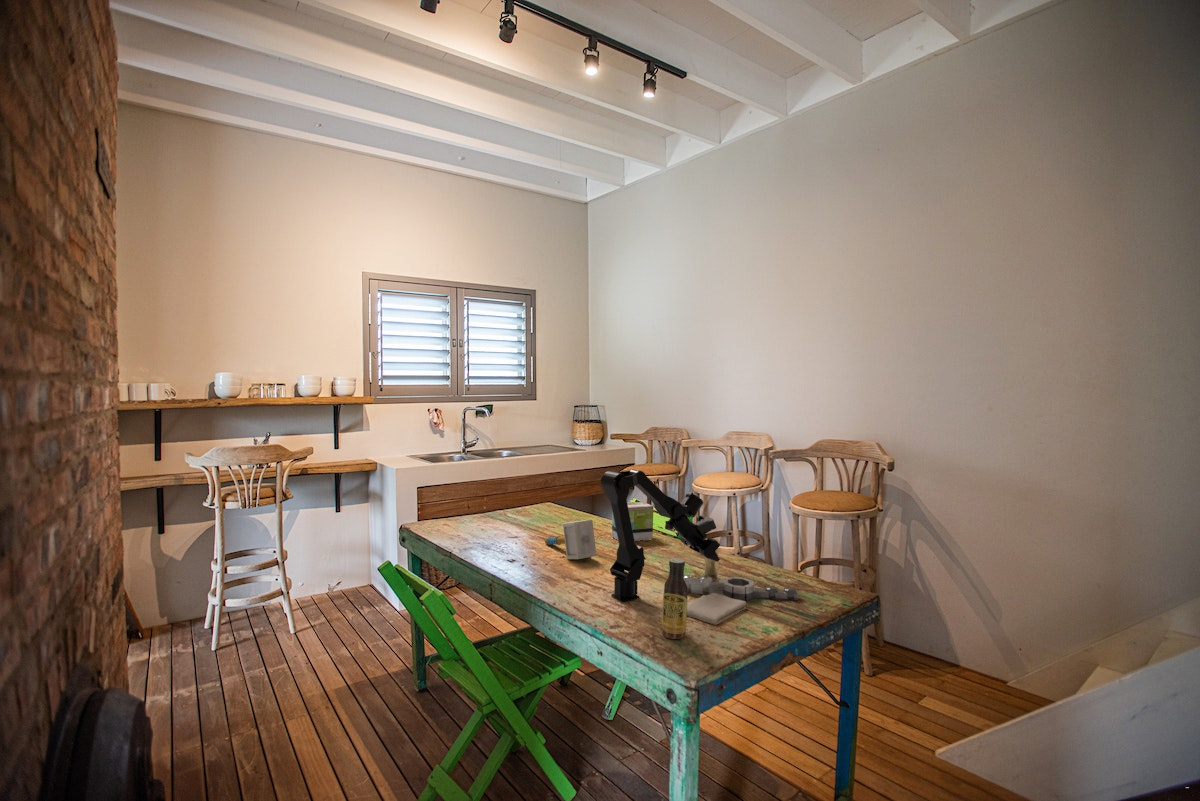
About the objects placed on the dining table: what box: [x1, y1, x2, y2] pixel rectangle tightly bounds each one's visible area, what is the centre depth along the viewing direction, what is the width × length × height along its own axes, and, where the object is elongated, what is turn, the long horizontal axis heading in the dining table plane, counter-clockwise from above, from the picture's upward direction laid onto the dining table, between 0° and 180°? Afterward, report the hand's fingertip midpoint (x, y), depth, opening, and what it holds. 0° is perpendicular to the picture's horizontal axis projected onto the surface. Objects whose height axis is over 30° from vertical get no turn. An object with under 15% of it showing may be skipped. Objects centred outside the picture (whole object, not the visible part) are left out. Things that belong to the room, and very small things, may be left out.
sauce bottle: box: [661, 557, 688, 640], centre depth 152 cm, size 7×6×20 cm
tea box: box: [611, 501, 654, 542], centre depth 248 cm, size 15×10×15 cm
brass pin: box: [704, 538, 719, 579], centre depth 196 cm, size 4×4×13 cm
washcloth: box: [686, 593, 747, 626], centre depth 169 cm, size 12×18×3 cm, turn 138°
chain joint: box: [684, 574, 799, 602], centre depth 182 cm, size 35×9×5 cm, turn 80°
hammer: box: [544, 519, 598, 560], centre depth 227 cm, size 8×13×30 cm
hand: (715, 558), depth 197 cm, fingers closed on brass pin, 4 cm apart
